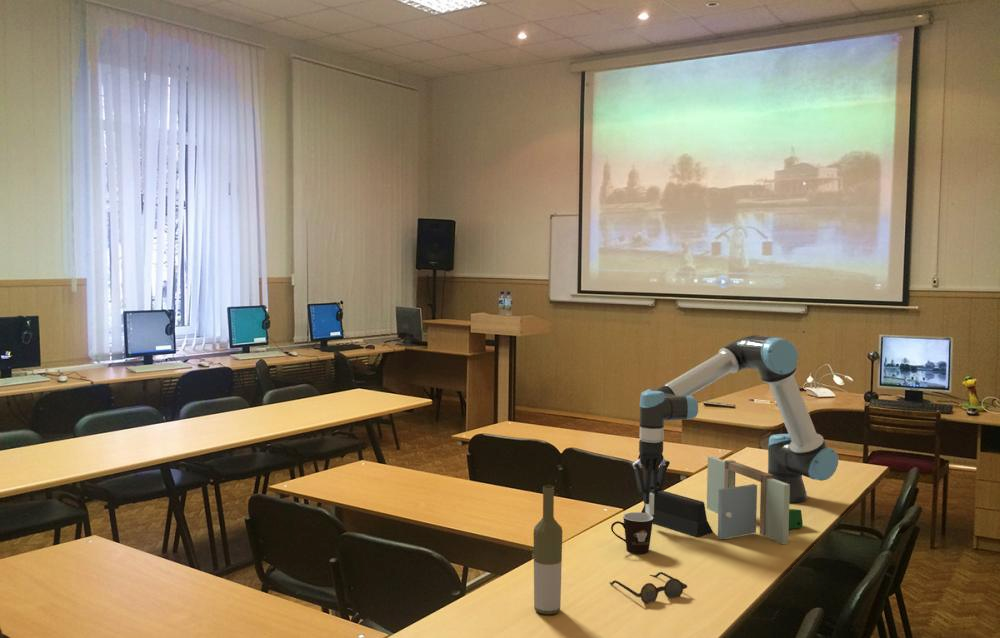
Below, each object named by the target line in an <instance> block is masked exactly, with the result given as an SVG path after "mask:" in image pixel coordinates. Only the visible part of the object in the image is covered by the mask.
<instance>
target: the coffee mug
mask: <svg viewBox="0 0 1000 638" xmlns="http://www.w3.org/2000/svg"><path fill="white" fill-rule="evenodd" d="M622 519H623V521H619V520H617V521H614V522H612V524H611V525H610V526H611V527H610V530H611V532H612V534H614V536H615V537H617V538H619V539H620V540H621V541H623V542H624V543H625V548H626V551H627V552H628V553H630V554H633V555H646V554H648V553H650V552H649V551H650V544H651V536H652V530H653V525H654V524H653V516H651V515H649V514H646V513H641V512H639V511H636V512H635V511H633V512H626V513H624V514H623V516H622ZM617 524H620V525H621V526H622V527H623V529H624V536H625V537H622V536H620V535H618V534H617V533H616V532H615V530H614V526H615V525H617Z"/></svg>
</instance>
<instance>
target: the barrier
mask: <svg viewBox="0 0 1000 638" xmlns="http://www.w3.org/2000/svg"><path fill="white" fill-rule="evenodd" d="M650 492H651V491H650ZM706 512H707V511H706V505H705V502H704V501H702V500H698V499H694V498H691V497H687V496H683V495H679V494H676V493H673V492H669V491H665V490H662V491H659V493H658V494H656V503H654V515H651V516H653V524H652V525H656V526H659V527H662V528H665V529H668V530H671V531H675V532H677V533H681V534H684V535H686V536H687V535H688V536H689V537H693V538H696V539H697V538H700V537H704V536H707V535H710V534H712V533H714V531H713V529H712V527H711V524H710V523H709V521H708V518H707V513H706ZM640 513H645V503H644V504H643V508H642V510H641V512H640ZM646 514H647V513H646Z"/></svg>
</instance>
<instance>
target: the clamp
mask: <svg viewBox="0 0 1000 638" xmlns="http://www.w3.org/2000/svg"><path fill="white" fill-rule="evenodd" d="M802 515H803V514H802V510H801V509H796V508H789V530H793V529H801V528H803V516H802Z"/></svg>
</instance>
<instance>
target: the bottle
mask: <svg viewBox="0 0 1000 638" xmlns="http://www.w3.org/2000/svg"><path fill="white" fill-rule="evenodd" d="M554 495H555V486H554V485H549V484H547V485H543V487H542V517H541V519H540V521H538V522H537V524H536V525H535V526H534V529H533V601H534V602H533V607H534V611H535V612H537V613H539V614H542V615H554V614H558V613H559V612H560V611H561V602H562V601H561V597H562V594H561V593H562V568H563V567H562V564H563V563H562V561H563V560H562V559H563V556H562V555H563V527H562V526H561V525H560V523H558V521H557V520H556V519H555V516H554V515H555V514H554V513H555V511H554V509H555V507H554V506H555V505H554V504H555V501H554V498H555V496H554Z"/></svg>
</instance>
